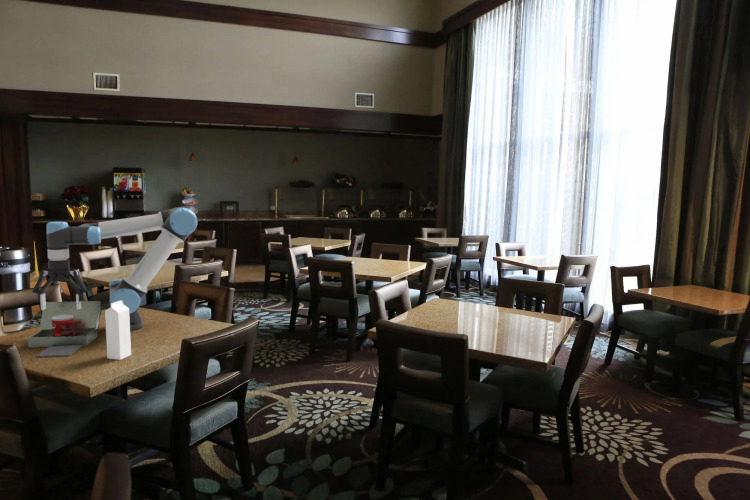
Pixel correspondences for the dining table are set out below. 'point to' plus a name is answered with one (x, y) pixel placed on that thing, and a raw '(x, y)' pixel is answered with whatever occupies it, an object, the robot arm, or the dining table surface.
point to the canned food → (63, 325)
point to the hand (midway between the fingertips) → (61, 309)
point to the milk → (118, 331)
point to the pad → (59, 351)
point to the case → (83, 324)
